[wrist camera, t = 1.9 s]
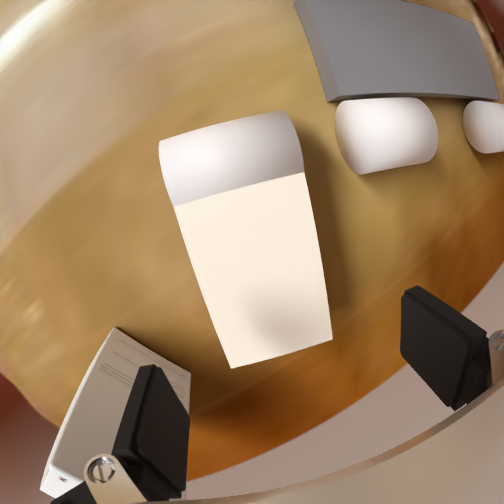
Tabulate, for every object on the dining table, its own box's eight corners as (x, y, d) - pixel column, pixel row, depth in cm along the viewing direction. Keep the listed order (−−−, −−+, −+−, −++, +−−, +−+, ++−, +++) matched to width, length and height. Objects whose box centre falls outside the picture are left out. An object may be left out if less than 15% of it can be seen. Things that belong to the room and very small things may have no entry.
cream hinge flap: (169, 143, 16) (152, 136, 11) (271, 117, 16) (289, 102, 12) (228, 333, 20) (231, 372, 16) (313, 308, 20) (334, 342, 16)
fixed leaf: (293, 3, 13) (312, -30, 9) (461, 27, 14) (489, 17, 9) (343, 172, 17) (378, 176, 13) (494, 149, 18) (527, 152, 13)
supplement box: (83, 374, 20) (34, 488, 8) (114, 323, 18) (47, 464, 6) (153, 415, 22) (136, 532, 10) (195, 373, 21) (190, 520, 9)
